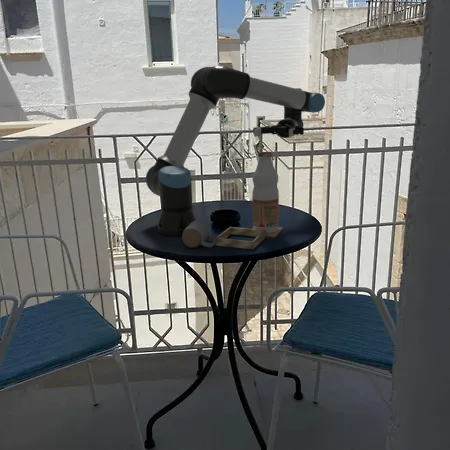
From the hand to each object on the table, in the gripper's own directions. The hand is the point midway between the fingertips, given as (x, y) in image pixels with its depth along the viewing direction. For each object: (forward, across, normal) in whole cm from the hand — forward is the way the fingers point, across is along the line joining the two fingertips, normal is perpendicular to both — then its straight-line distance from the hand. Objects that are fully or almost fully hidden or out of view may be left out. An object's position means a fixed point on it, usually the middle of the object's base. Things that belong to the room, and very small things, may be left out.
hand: (272, 133), depth 171 cm
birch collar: (+28, +3, -34) cm, 44 cm away
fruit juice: (+16, -2, -33) cm, 37 cm away
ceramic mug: (+36, +15, -34) cm, 52 cm away
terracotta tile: (+16, -2, -34) cm, 38 cm away
